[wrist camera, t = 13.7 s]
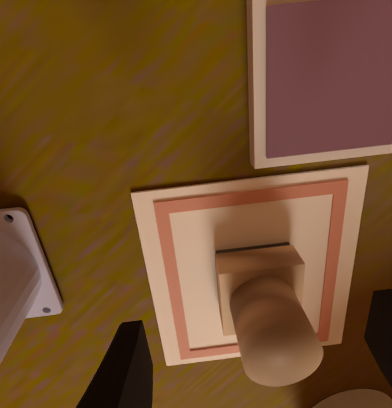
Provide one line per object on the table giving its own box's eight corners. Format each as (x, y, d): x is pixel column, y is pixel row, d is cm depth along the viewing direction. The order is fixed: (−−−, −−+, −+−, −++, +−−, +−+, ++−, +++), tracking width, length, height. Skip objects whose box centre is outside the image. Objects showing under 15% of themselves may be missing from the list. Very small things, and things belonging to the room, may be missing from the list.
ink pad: (249, 161, 18) (256, 170, 16) (246, -4, 14) (253, -10, 13) (386, 146, 18) (404, 153, 17) (416, -22, 14) (441, -30, 13)
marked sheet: (166, 363, 25) (166, 367, 24) (131, 192, 18) (130, 194, 18) (340, 341, 25) (342, 345, 25) (367, 164, 18) (370, 166, 18)
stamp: (218, 307, 22) (235, 398, 16) (213, 249, 20) (231, 330, 14) (287, 298, 22) (328, 385, 16) (290, 240, 20) (338, 316, 14)
